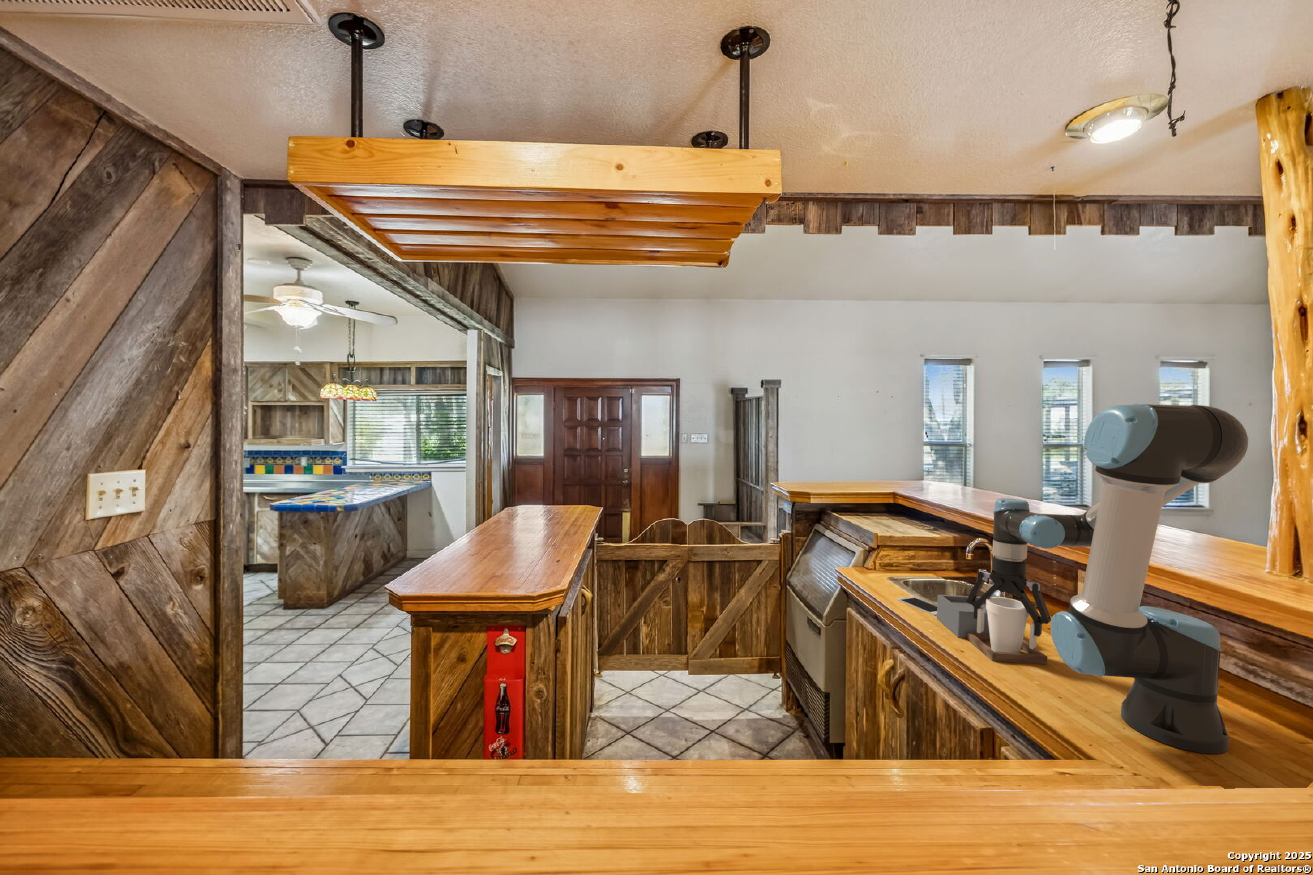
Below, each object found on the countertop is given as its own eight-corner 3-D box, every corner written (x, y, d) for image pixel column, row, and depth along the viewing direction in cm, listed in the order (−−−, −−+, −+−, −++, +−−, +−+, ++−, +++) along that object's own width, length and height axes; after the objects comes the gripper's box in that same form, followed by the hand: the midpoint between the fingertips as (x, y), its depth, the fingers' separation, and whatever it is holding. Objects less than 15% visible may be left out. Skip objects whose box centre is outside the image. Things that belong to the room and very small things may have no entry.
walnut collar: (1047, 664, 131) (1047, 656, 131) (992, 660, 132) (992, 652, 132) (1017, 642, 144) (1017, 635, 144) (967, 639, 145) (967, 632, 145)
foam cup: (976, 643, 143) (978, 596, 142) (1011, 644, 143) (1013, 597, 142) (998, 658, 133) (1000, 608, 133) (1035, 660, 133) (1037, 610, 133)
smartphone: (934, 617, 163) (934, 614, 163) (895, 600, 177) (895, 597, 177) (951, 614, 165) (951, 611, 165) (911, 598, 180) (911, 595, 180)
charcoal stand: (1011, 640, 145) (1012, 614, 145) (958, 637, 146) (959, 611, 146) (985, 621, 159) (986, 597, 158) (936, 618, 160) (937, 594, 160)
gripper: (1069, 565, 130) (1065, 651, 131) (965, 546, 149) (962, 621, 149) (1060, 570, 125) (1056, 659, 126) (954, 550, 144) (951, 627, 145)
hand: (1005, 639), depth 138 cm, fingers open, 11 cm apart
